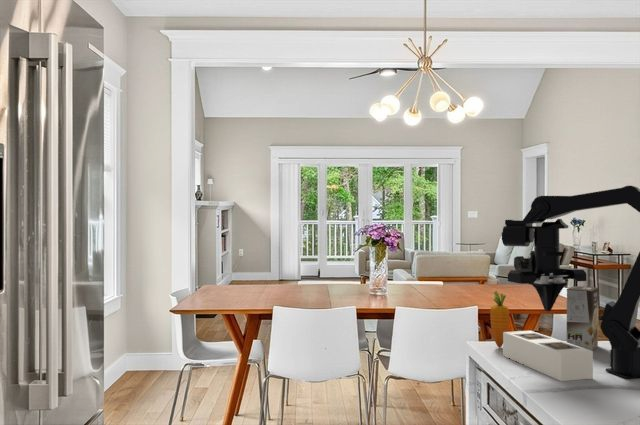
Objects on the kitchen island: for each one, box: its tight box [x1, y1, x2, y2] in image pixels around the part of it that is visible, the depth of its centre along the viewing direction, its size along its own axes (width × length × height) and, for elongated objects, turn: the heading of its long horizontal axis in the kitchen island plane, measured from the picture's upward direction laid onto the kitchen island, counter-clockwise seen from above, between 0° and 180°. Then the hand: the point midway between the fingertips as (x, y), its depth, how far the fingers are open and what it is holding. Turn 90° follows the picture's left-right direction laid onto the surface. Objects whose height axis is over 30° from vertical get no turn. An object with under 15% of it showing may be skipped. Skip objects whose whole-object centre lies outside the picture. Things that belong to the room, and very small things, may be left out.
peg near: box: [550, 344, 568, 349], centre depth 126 cm, size 4×4×6 cm
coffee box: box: [566, 285, 599, 352], centre depth 149 cm, size 9×6×16 cm
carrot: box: [489, 290, 510, 349], centre depth 149 cm, size 5×5×15 cm
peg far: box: [524, 335, 540, 339], centre depth 135 cm, size 4×4×6 cm
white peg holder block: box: [502, 330, 594, 382], centre depth 130 cm, size 22×8×6 cm, turn 14°
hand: (547, 311), depth 135 cm, fingers closed
